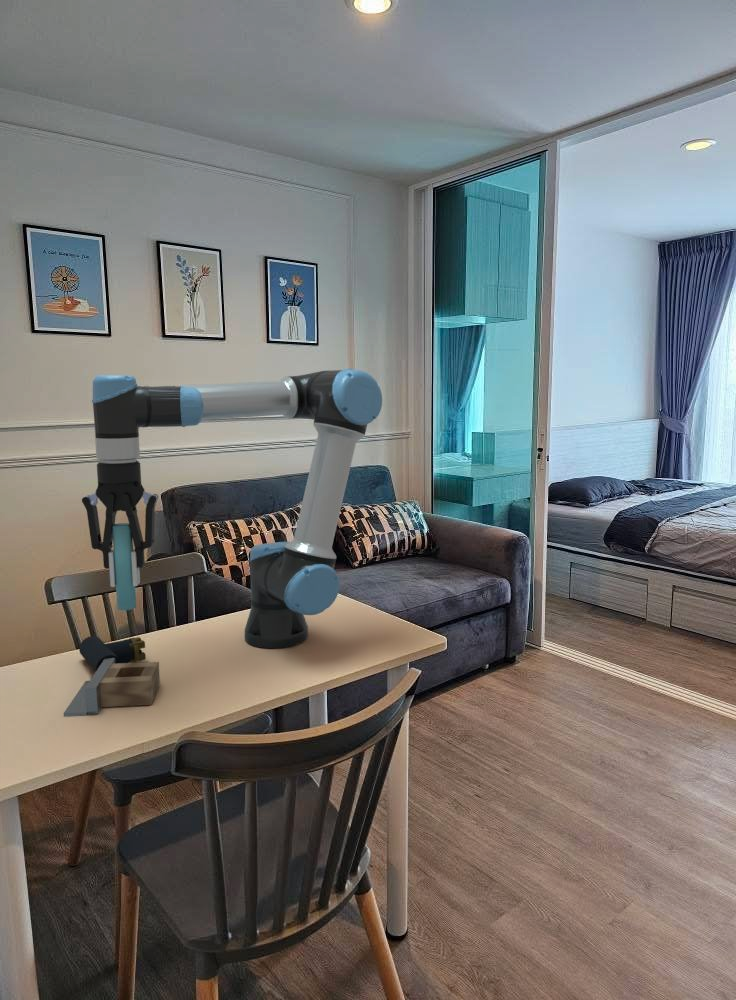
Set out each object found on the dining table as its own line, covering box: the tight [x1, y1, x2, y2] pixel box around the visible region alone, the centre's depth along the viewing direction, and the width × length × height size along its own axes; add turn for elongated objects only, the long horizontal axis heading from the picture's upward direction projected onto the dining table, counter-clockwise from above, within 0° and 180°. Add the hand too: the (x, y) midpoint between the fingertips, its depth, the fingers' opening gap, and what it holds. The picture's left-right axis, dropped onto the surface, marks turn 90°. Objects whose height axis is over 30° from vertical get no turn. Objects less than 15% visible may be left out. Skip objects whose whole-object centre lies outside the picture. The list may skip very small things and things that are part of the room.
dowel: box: [112, 522, 137, 611], centre depth 128 cm, size 3×3×16 cm
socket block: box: [100, 661, 161, 708], centre depth 131 cm, size 9×9×5 cm
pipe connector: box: [78, 635, 147, 673], centre depth 146 cm, size 12×5×15 cm
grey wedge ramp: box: [63, 658, 115, 717], centre depth 131 cm, size 6×14×5 cm, turn 7°
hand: (125, 584), depth 128 cm, fingers closed on dowel, 3 cm apart
